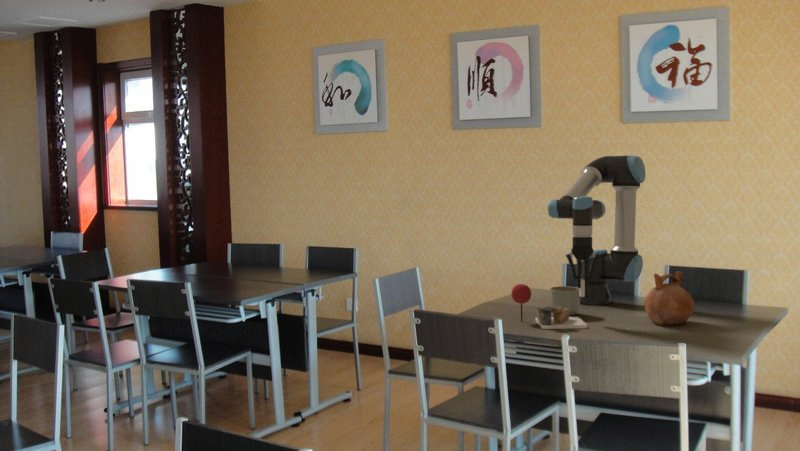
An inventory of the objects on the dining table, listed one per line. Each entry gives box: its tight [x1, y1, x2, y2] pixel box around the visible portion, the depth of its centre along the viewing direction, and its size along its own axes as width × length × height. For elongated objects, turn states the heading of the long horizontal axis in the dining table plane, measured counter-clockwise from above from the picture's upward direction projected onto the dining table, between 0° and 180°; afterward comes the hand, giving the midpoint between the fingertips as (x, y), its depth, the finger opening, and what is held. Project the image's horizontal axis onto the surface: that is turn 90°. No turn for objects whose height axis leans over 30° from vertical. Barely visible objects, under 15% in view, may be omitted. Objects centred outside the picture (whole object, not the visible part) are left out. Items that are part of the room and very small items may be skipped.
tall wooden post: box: [536, 306, 552, 325], centre depth 318 cm, size 4×15×6 cm, turn 0°
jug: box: [644, 271, 695, 327], centre depth 316 cm, size 18×18×20 cm
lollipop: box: [511, 283, 532, 322], centre depth 324 cm, size 8×8×15 cm
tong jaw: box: [539, 305, 570, 323], centre depth 316 cm, size 8×16×6 cm, turn 152°
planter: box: [549, 285, 581, 317], centre depth 336 cm, size 12×12×11 cm
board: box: [534, 316, 588, 330], centre depth 318 cm, size 17×16×1 cm
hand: (582, 296), depth 319 cm, fingers closed
